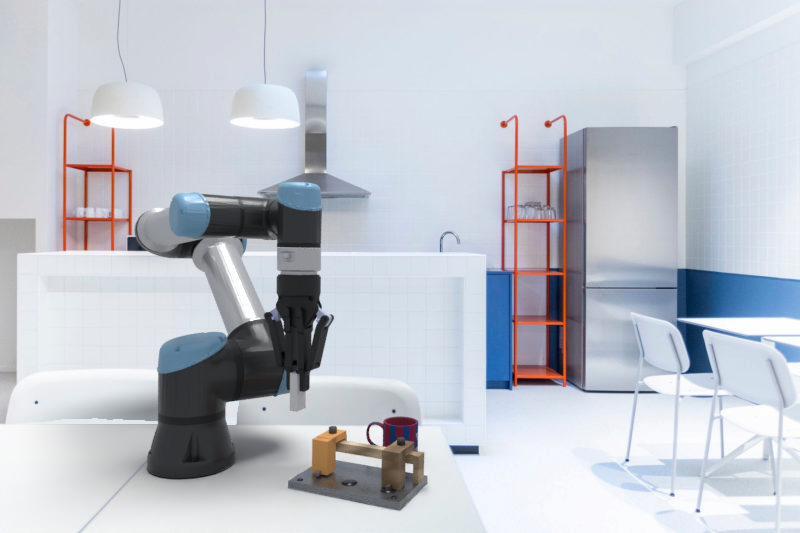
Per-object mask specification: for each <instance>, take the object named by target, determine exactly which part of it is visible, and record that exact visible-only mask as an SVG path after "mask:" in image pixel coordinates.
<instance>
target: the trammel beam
mask: <svg viewBox="0 0 800 533" xmlns="http://www.w3.org/2000/svg"><path fill="white" fill-rule="evenodd" d="M376 445H377V444H376ZM376 445H370V444H369V443H364V442H363V443H362V442H357V441H356V442H355V441H351V440H347V441H344V440H341V441H339V442H337V443H336V453H337V452H338V453H342V454H343V453H344V454H348V455H349V454H350V455H354V456H360V457H367V458H373V459H378V460H381V468H382V475H381V487H385V491H390V490H391V489H396V490H399V489H401V488H402V487H403V486H404V485H405V472H406V464H409V465H412V473H413V483H414V484H419V483H420V482H422V481H423V480H424V474H425V452H424V451H420V450H418V452H415V451H414V442H412V441H405V438H404V437H398V438H397V441H395V442H394V443H392V444H391V445H389V446H387V447H383V445H382V446H381V445H378V446H376Z"/></svg>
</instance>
